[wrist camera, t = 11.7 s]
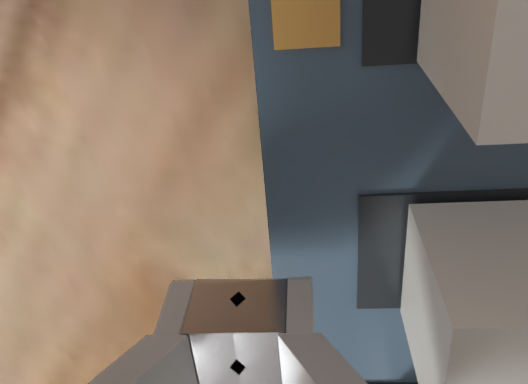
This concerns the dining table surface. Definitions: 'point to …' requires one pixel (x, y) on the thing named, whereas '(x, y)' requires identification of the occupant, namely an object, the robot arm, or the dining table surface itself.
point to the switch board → (359, 163)
